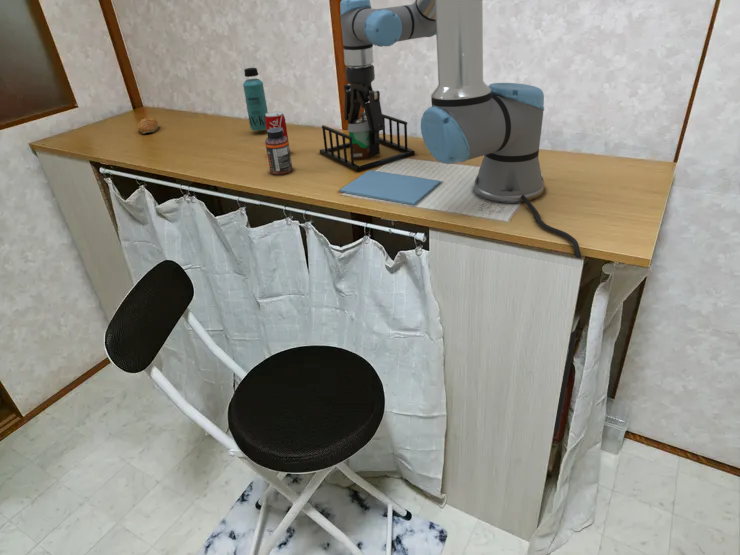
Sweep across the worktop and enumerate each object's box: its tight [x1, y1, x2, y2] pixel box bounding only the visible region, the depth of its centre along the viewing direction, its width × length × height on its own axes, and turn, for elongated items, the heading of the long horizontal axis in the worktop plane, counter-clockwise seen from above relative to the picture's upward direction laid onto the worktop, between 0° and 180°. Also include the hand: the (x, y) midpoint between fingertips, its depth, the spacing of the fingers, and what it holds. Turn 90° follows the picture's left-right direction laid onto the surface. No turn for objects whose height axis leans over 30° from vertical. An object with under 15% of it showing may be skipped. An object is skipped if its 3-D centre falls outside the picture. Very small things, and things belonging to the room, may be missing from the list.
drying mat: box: [339, 169, 441, 206], centre depth 127 cm, size 20×14×1 cm
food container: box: [347, 111, 374, 160], centre depth 146 cm, size 12×6×10 cm, turn 163°
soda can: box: [265, 110, 291, 151], centre depth 150 cm, size 6×6×12 cm
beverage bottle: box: [242, 67, 269, 132], centre depth 168 cm, size 6×7×20 cm
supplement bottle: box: [264, 128, 293, 176], centre depth 138 cm, size 6×6×11 cm
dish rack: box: [319, 113, 416, 173], centre depth 146 cm, size 20×19×8 cm
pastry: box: [137, 116, 159, 135], centre depth 184 cm, size 9×7×4 cm
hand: (365, 150), depth 148 cm, fingers closed on food container, 9 cm apart
